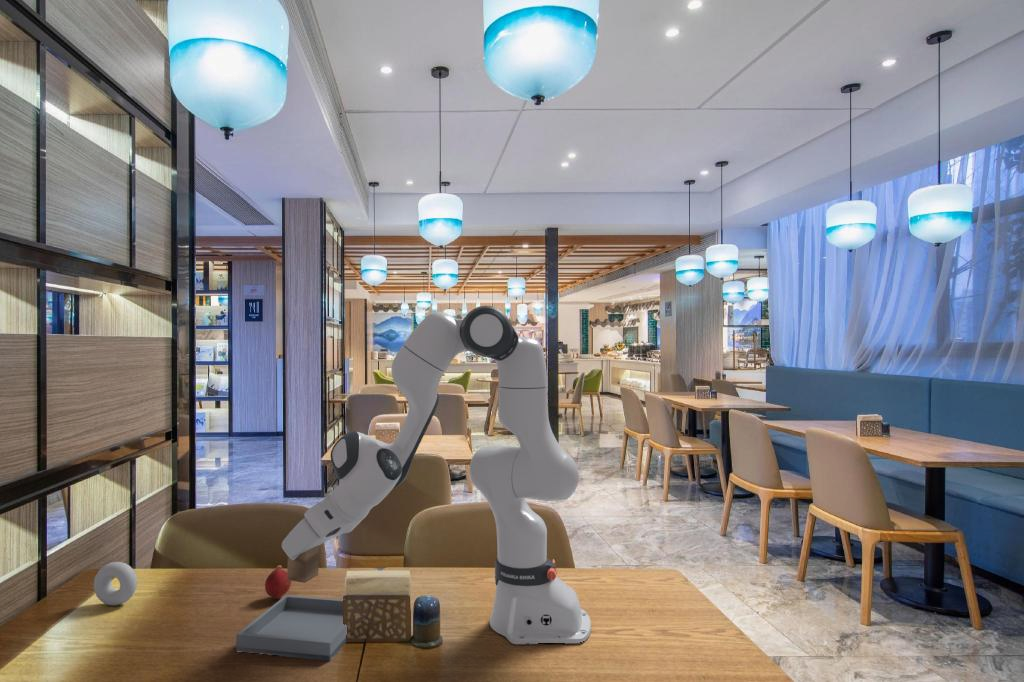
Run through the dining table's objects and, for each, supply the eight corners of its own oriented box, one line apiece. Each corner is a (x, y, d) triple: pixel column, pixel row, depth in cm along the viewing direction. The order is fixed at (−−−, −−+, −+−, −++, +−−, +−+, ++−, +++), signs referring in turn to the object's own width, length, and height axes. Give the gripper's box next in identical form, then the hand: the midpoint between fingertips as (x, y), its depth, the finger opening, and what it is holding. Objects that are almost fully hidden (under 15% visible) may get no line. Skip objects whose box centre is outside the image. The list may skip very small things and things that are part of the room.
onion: (272, 606, 130) (273, 572, 130) (260, 600, 133) (260, 566, 134) (295, 598, 135) (295, 565, 135) (282, 591, 138) (283, 559, 138)
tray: (367, 616, 125) (367, 601, 126) (330, 661, 108) (330, 643, 108) (285, 610, 128) (285, 594, 128) (236, 652, 111) (236, 634, 111)
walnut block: (318, 575, 121) (319, 528, 121) (304, 582, 116) (306, 534, 117) (300, 572, 122) (302, 526, 122) (286, 579, 118) (288, 532, 118)
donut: (140, 602, 132) (141, 560, 132) (129, 609, 128) (130, 566, 128) (101, 600, 132) (102, 558, 133) (89, 607, 129) (90, 564, 129)
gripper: (360, 489, 128) (322, 527, 130) (302, 511, 108) (259, 555, 111) (376, 510, 126) (338, 548, 129) (321, 536, 107) (277, 581, 109)
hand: (301, 552), depth 119 cm, fingers closed on walnut block, 4 cm apart
